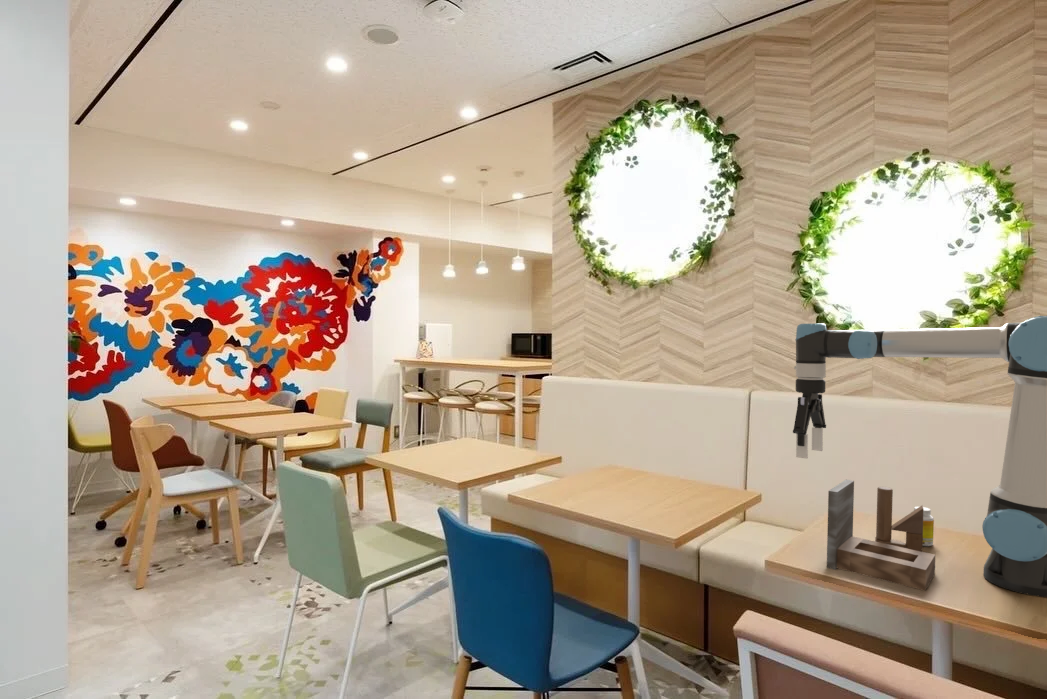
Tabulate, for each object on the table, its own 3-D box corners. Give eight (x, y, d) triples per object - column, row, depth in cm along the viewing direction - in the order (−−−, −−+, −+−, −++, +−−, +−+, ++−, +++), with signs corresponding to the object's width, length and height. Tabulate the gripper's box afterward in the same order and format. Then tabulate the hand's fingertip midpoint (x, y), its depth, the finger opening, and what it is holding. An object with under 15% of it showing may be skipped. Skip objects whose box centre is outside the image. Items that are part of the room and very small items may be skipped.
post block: (935, 572, 148) (938, 494, 147) (924, 592, 136) (926, 508, 135) (844, 550, 162) (846, 479, 162) (826, 567, 151) (828, 490, 150)
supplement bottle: (938, 546, 166) (939, 510, 166) (921, 547, 165) (923, 511, 165) (920, 539, 172) (921, 505, 171) (905, 540, 170) (906, 506, 170)
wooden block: (922, 561, 155) (924, 494, 154) (875, 553, 161) (876, 488, 160) (921, 556, 158) (923, 491, 158) (875, 549, 164) (876, 485, 163)
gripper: (810, 375, 175) (809, 446, 175) (781, 380, 156) (780, 459, 157) (837, 376, 170) (836, 449, 170) (810, 381, 151) (810, 463, 152)
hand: (809, 454), depth 164 cm, fingers open, 13 cm apart
